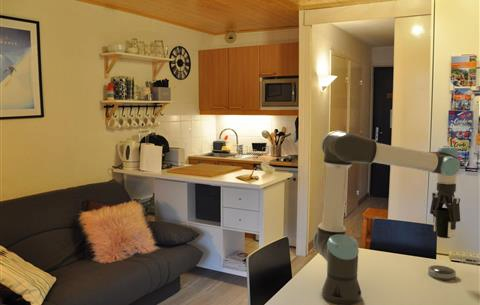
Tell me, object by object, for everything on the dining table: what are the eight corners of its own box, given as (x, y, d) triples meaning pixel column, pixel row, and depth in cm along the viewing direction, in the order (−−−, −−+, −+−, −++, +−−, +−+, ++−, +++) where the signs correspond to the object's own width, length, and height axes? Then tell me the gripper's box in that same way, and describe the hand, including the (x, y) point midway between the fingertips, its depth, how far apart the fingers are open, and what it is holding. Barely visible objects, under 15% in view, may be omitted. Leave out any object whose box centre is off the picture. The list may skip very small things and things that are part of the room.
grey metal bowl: (440, 281, 183) (440, 275, 182) (422, 272, 193) (422, 266, 193) (461, 278, 186) (461, 272, 186) (442, 269, 196) (442, 263, 196)
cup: (449, 233, 191) (450, 207, 189) (456, 239, 183) (457, 211, 182) (431, 233, 192) (432, 207, 190) (437, 238, 184) (439, 211, 183)
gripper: (472, 186, 176) (469, 239, 179) (436, 177, 195) (433, 226, 198) (457, 187, 174) (454, 241, 176) (422, 178, 193) (420, 227, 196)
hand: (443, 233), depth 187 cm, fingers closed on cup, 8 cm apart
